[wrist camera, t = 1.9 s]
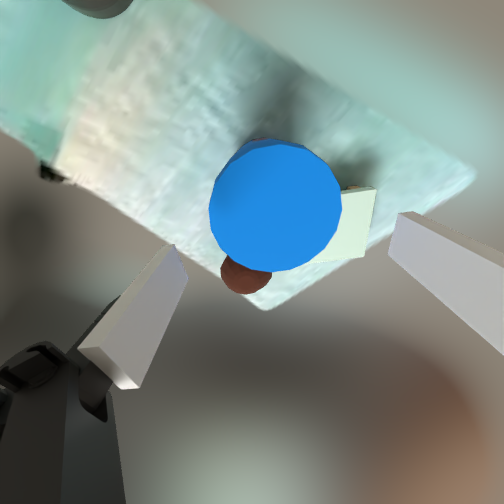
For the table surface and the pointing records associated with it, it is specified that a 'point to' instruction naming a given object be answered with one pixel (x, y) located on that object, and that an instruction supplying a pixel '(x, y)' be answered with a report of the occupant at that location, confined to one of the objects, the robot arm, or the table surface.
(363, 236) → the footstool
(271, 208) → the thermos
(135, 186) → the table surface
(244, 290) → the muffin
